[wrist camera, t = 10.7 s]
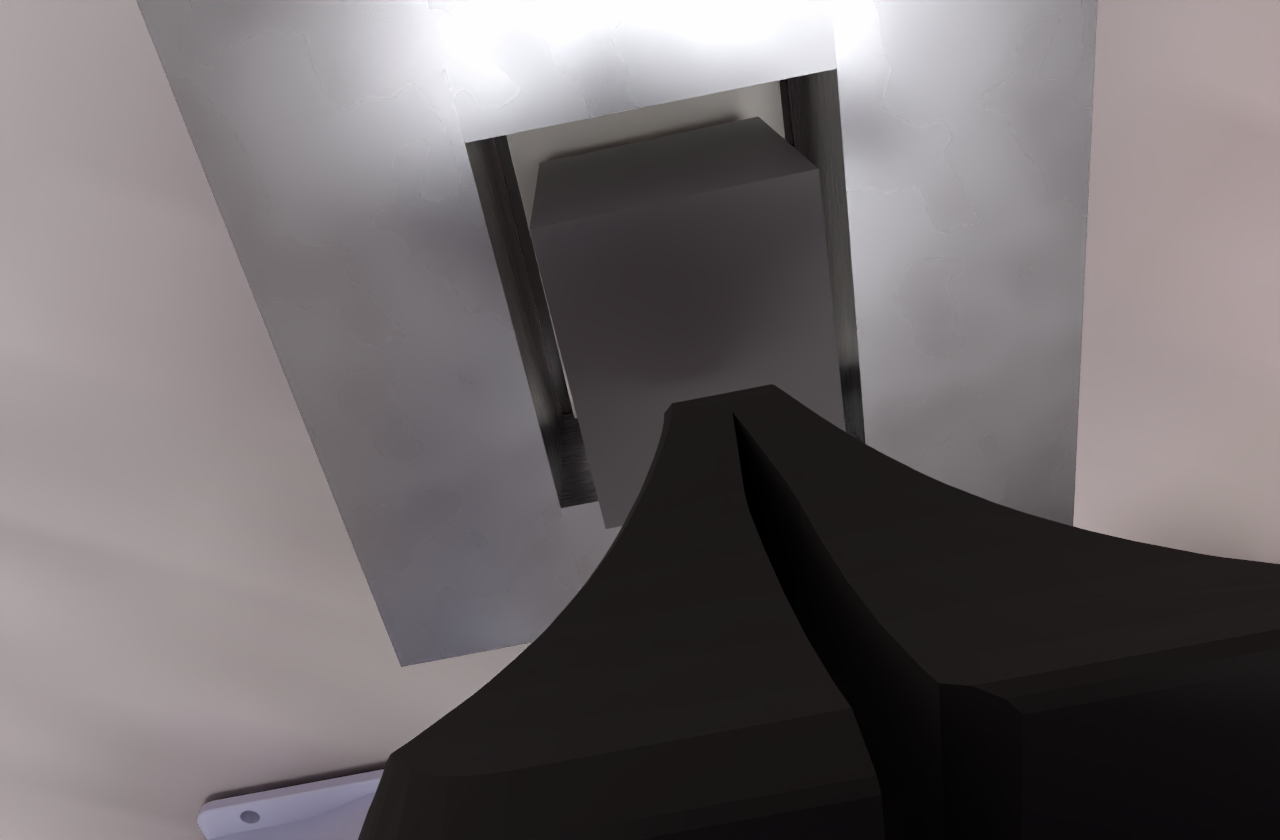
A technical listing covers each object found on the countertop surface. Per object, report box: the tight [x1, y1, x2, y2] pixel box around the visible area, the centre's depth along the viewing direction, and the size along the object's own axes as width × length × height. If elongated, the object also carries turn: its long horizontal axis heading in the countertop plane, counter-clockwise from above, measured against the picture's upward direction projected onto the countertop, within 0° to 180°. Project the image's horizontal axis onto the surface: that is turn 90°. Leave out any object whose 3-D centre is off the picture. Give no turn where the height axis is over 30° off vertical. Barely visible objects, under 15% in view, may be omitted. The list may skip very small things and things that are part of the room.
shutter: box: [506, 80, 785, 418], centre depth 19 cm, size 5×6×1 cm
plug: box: [529, 117, 846, 529], centre depth 16 cm, size 4×5×6 cm
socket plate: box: [136, 0, 1097, 667], centre depth 18 cm, size 14×13×4 cm
